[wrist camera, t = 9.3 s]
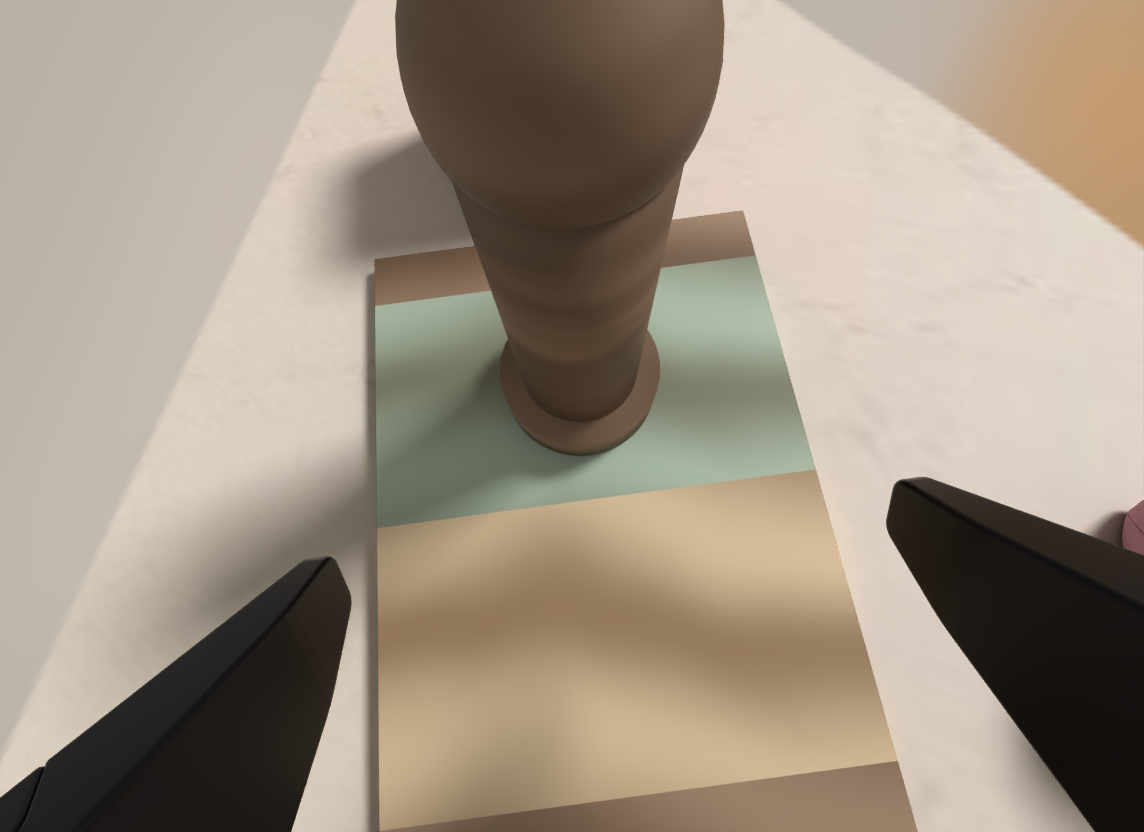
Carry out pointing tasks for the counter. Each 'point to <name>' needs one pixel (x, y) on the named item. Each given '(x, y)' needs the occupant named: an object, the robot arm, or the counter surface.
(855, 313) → the counter surface
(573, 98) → the pawn
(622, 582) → the game track
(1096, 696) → the robot arm
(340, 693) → the counter surface
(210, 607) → the counter surface
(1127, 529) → the video game controller
